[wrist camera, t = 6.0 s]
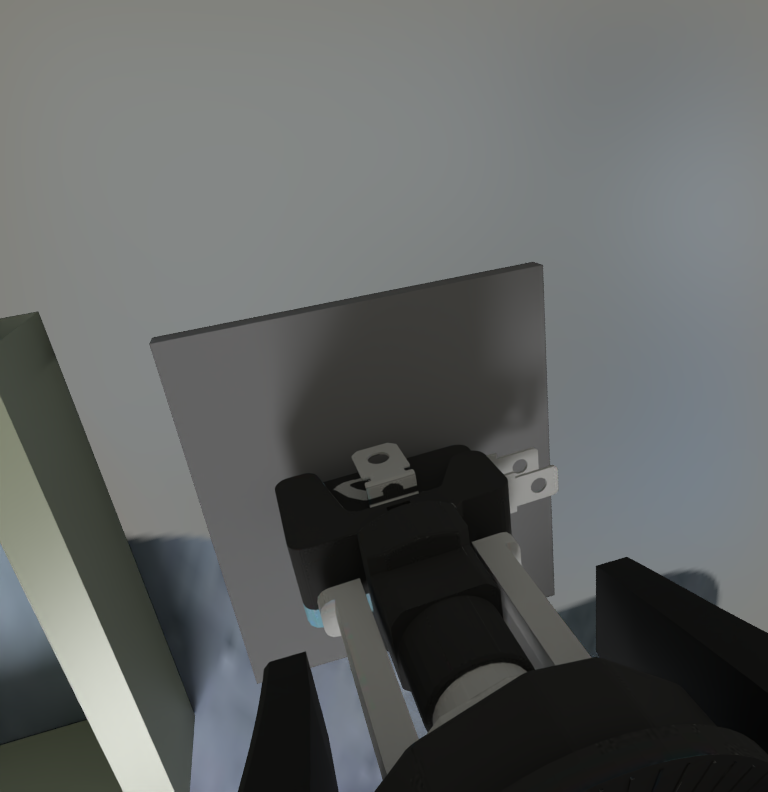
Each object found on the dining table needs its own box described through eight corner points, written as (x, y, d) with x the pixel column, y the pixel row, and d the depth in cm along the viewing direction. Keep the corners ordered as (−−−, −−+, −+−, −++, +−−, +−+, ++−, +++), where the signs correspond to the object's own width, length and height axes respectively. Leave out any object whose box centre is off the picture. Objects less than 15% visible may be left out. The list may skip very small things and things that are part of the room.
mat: (533, 261, 14) (542, 265, 14) (546, 583, 18) (554, 595, 18) (152, 337, 13) (149, 344, 12) (256, 670, 17) (257, 683, 16)
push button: (521, 357, 14) (1072, 723, 5) (530, 534, 16) (922, 998, 7) (242, 430, 13) (338, 1080, 4) (295, 611, 15) (431, 1280, 6)
